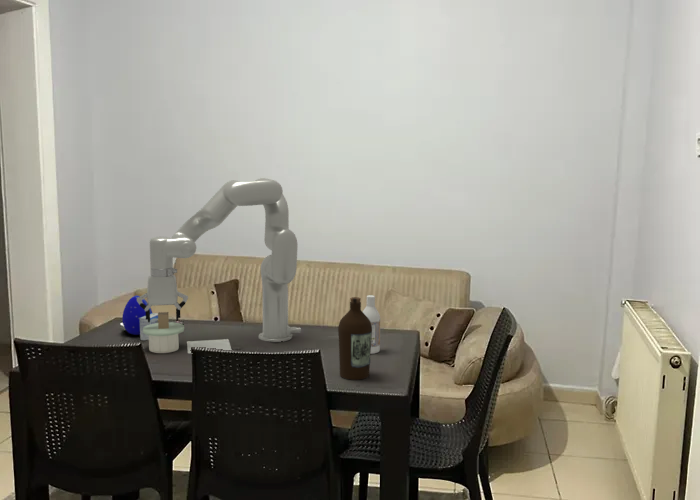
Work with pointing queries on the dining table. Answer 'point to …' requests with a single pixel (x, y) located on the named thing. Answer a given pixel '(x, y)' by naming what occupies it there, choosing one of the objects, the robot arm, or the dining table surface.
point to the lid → (163, 326)
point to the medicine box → (145, 322)
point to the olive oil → (354, 342)
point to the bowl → (163, 343)
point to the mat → (210, 344)
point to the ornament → (133, 315)
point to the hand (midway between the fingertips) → (163, 320)
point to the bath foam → (373, 323)
